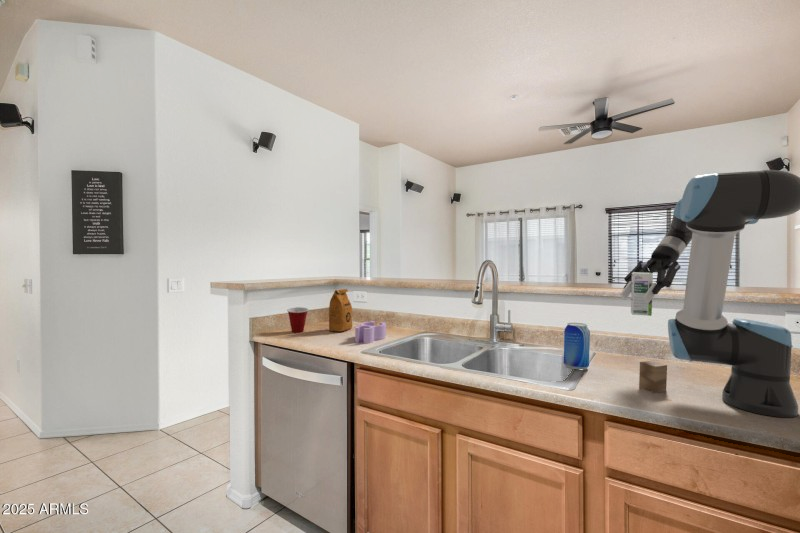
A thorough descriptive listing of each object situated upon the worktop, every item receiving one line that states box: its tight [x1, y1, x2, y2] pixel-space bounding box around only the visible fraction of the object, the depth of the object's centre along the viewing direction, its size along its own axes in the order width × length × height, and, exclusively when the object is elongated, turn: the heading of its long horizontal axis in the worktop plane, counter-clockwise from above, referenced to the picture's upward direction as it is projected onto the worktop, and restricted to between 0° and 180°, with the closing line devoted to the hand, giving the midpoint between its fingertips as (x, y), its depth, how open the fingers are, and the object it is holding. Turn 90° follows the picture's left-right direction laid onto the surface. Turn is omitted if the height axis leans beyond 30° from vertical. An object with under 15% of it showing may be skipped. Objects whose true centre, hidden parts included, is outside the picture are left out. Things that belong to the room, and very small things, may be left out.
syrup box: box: [630, 272, 654, 317], centre depth 130 cm, size 6×6×14 cm
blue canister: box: [563, 322, 591, 371], centre depth 137 cm, size 8×8×16 cm
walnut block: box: [638, 360, 668, 394], centre depth 116 cm, size 5×5×8 cm
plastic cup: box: [286, 306, 309, 334], centre depth 195 cm, size 11×11×12 cm
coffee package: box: [328, 288, 353, 333], centre depth 199 cm, size 10×12×22 cm
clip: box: [354, 320, 387, 345], centre depth 181 cm, size 20×12×7 cm, turn 158°
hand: (634, 298), depth 129 cm, fingers closed on syrup box, 8 cm apart
